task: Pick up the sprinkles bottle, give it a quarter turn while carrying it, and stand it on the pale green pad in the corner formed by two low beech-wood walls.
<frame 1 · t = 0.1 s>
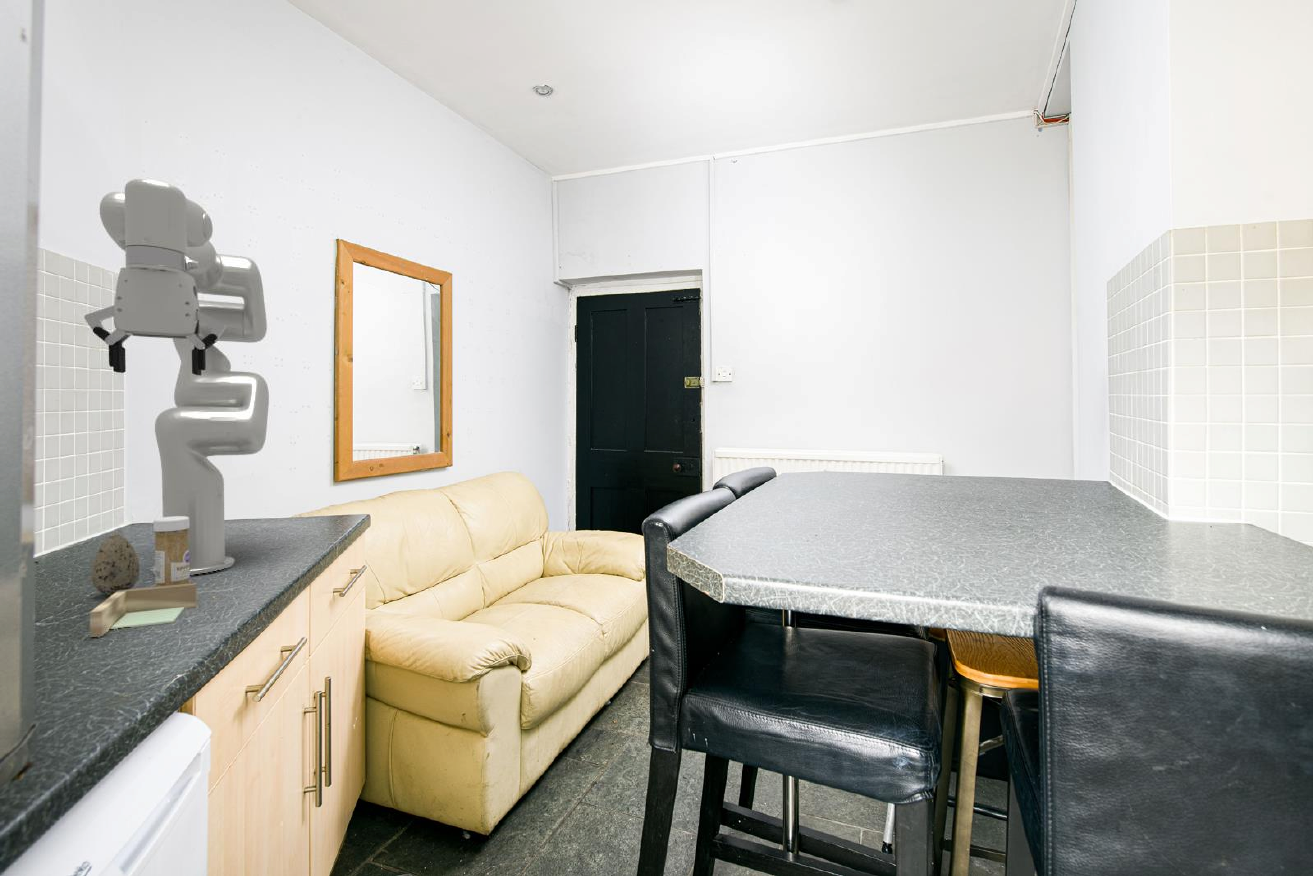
hand: (159, 373, 96), 37 cm above the countertop, tool pointing down, fingers open, 9 cm apart
sprinkles bottle: (173, 601, 98), on the countertop
decorative egg: (116, 596, 101), on the countertop
corner walls: (146, 620, 89), on the countertop
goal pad: (149, 618, 89), on the countertop
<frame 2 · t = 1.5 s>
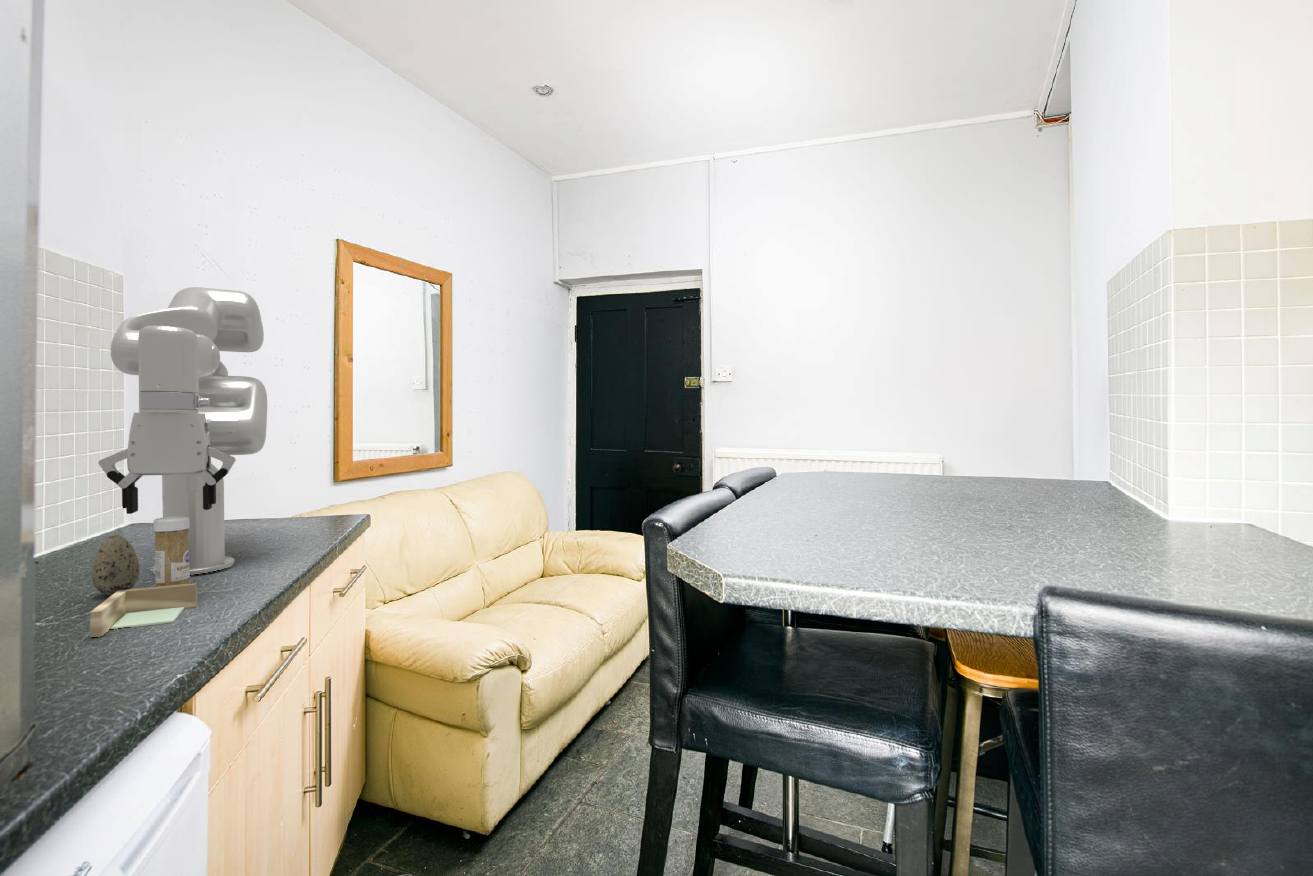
hand: (170, 510, 97), 15 cm above the countertop, tool pointing down, fingers open, 9 cm apart
nothing on the countertop moved.
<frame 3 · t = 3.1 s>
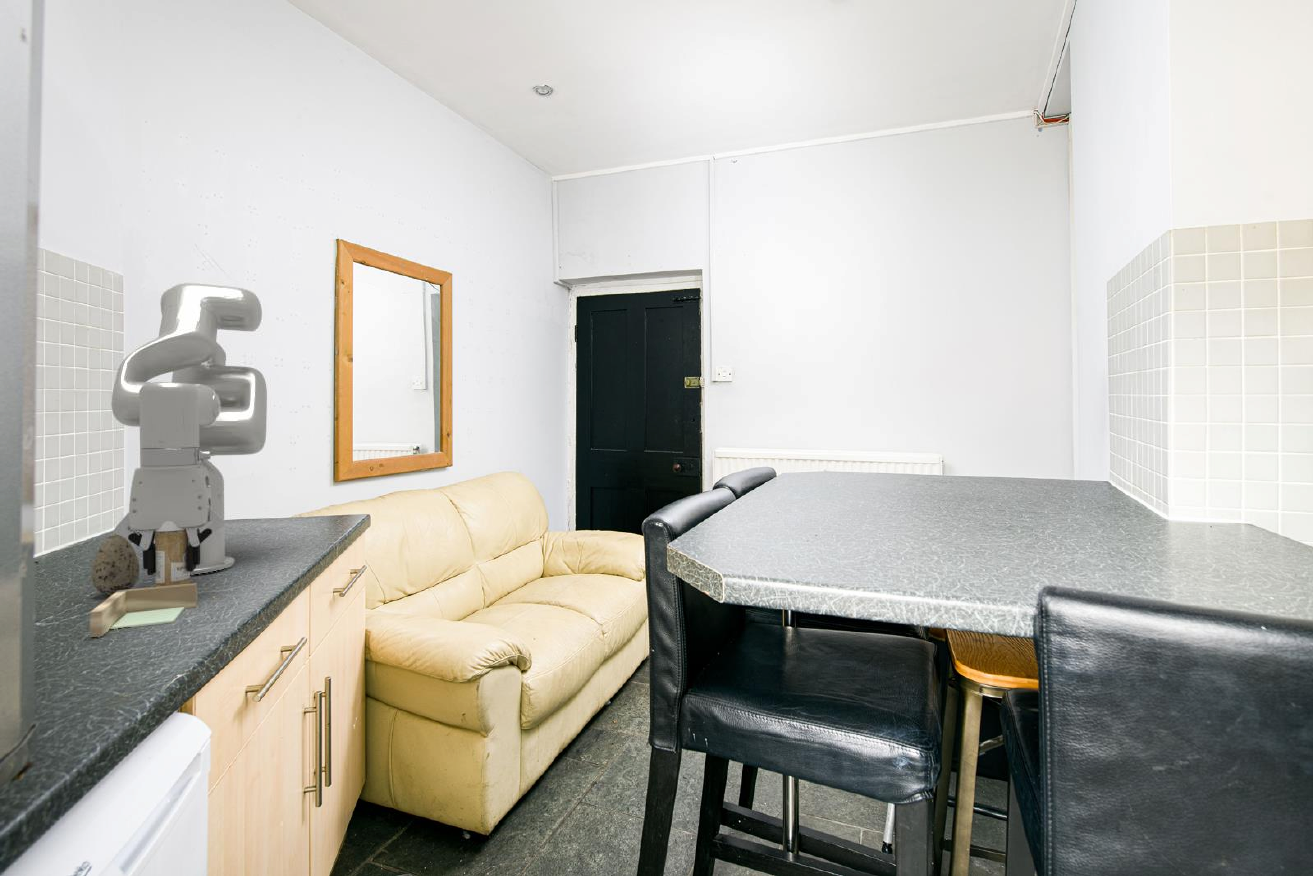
hand: (172, 570, 98), 5 cm above the countertop, tool pointing down, fingers closed on sprinkles bottle, 4 cm apart
sprinkles bottle: (173, 601, 98), on the countertop, touching gripper
everything else where it was.
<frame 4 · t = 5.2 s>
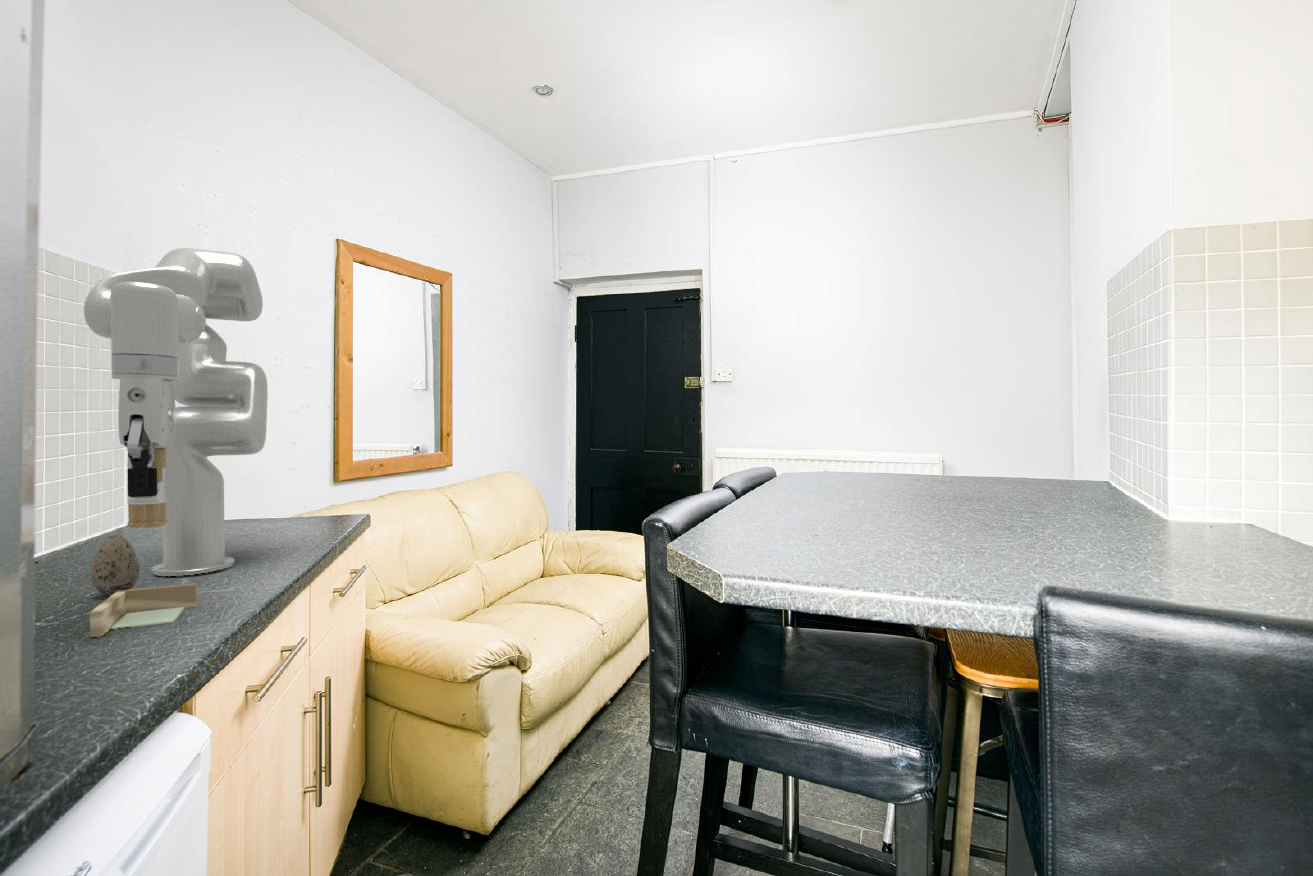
hand: (147, 493, 89), 19 cm above the countertop, tool pointing down, fingers closed on sprinkles bottle, 4 cm apart
sprinkles bottle: (148, 527, 89), point 14 cm above the countertop, touching gripper
everything else where it was.
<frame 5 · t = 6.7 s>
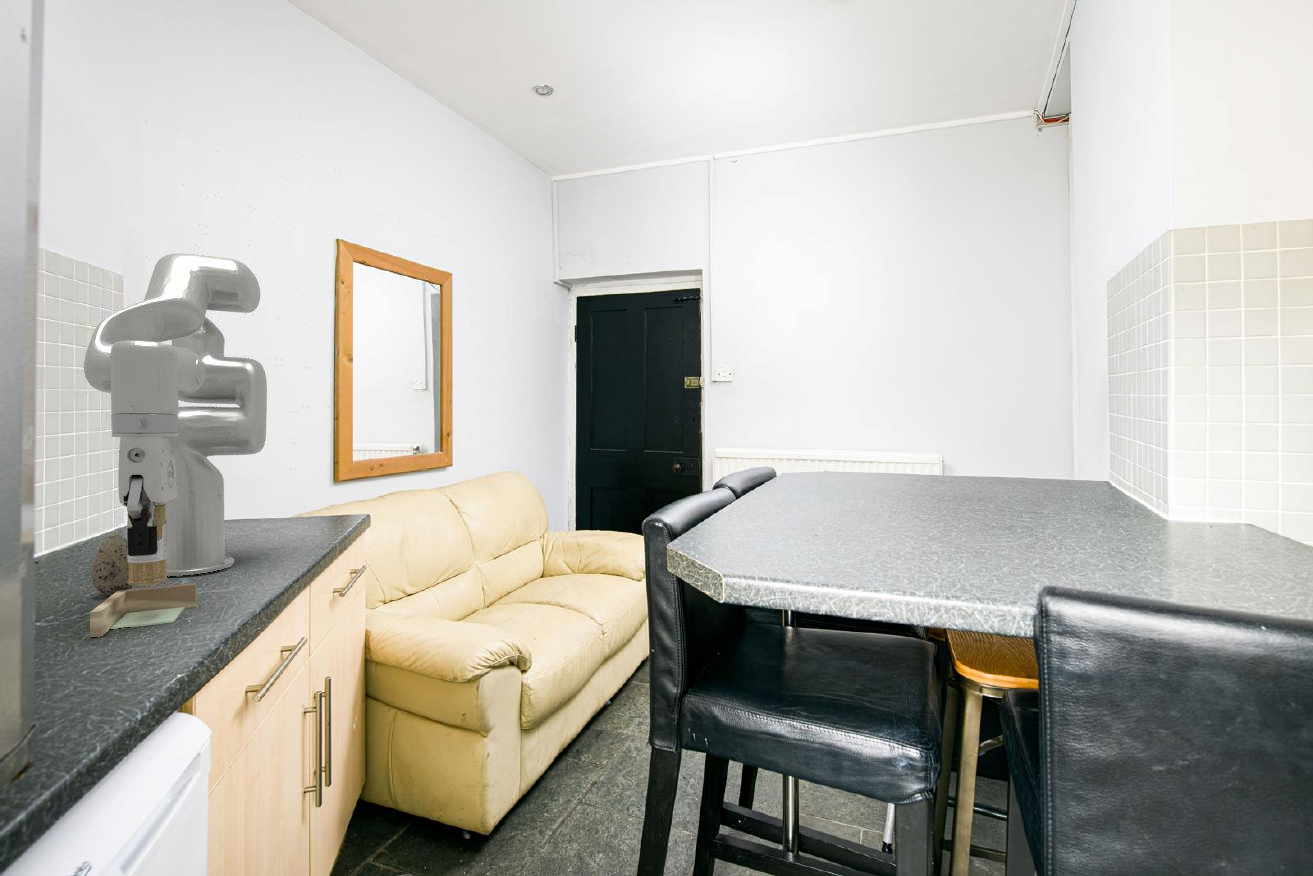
hand: (147, 550, 89), 10 cm above the countertop, tool pointing down, fingers closed on sprinkles bottle, 4 cm apart
sprinkles bottle: (148, 584, 89), point 5 cm above the countertop, touching gripper
everything else where it was.
when the fingers open (6 cm above the countertop, at t = 7.8 s): sprinkles bottle drops 1 cm, resting on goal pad.
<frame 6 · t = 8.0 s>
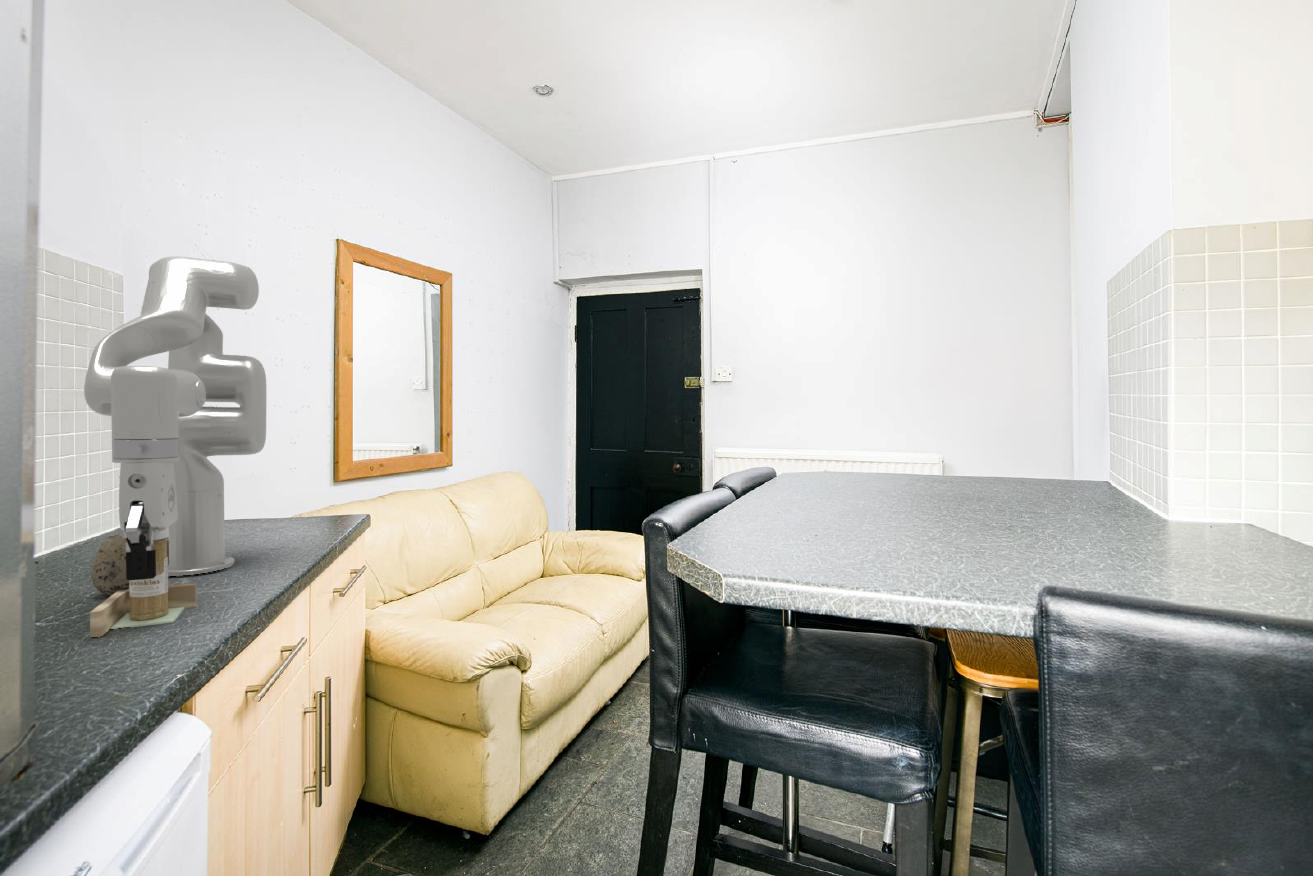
hand: (148, 572, 89), 7 cm above the countertop, tool pointing down, fingers open, 6 cm apart
sprinkles bottle: (149, 617, 89), resting on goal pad
everything else where it was.
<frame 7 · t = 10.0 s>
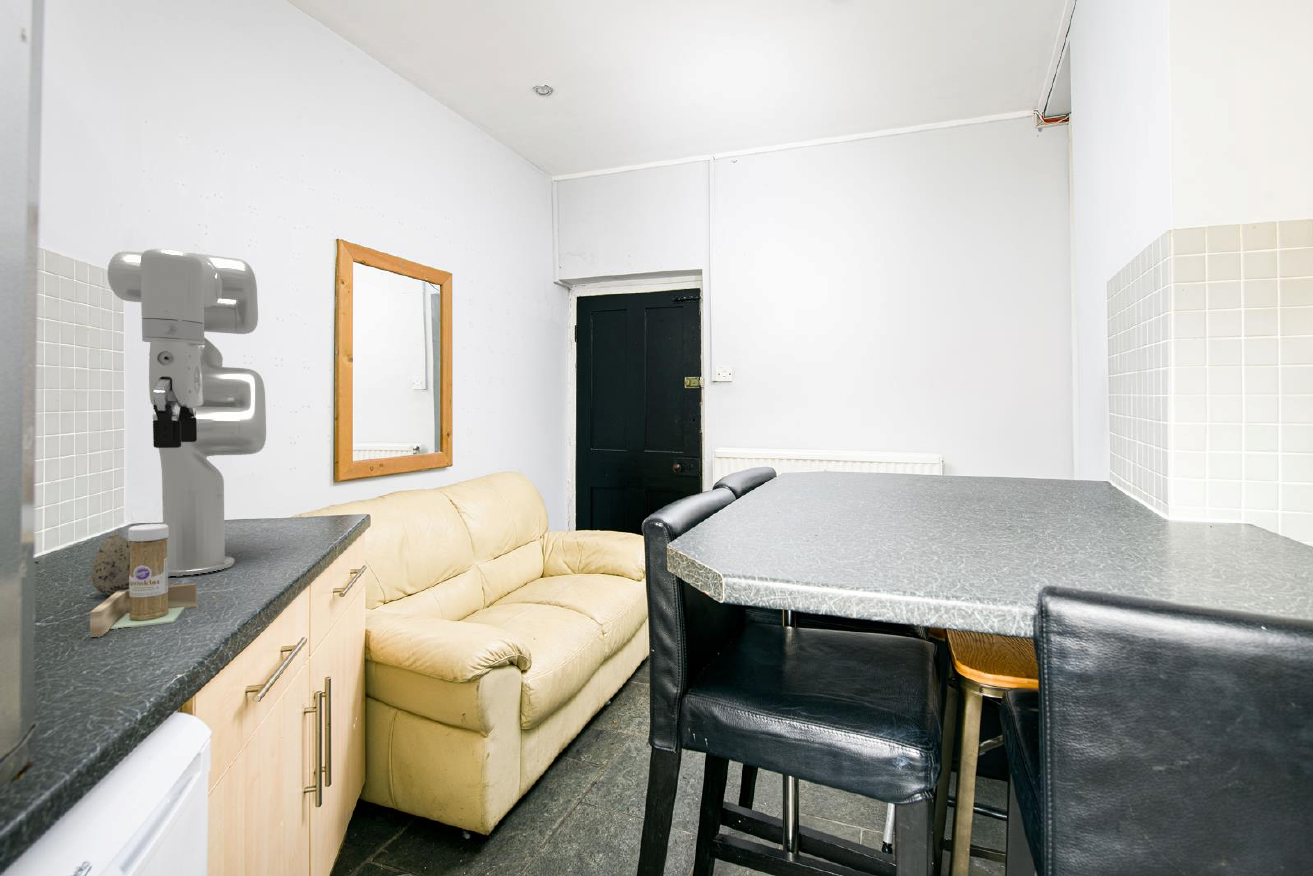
hand: (176, 444, 94), 25 cm above the countertop, tool pointing down, fingers open, 9 cm apart
nothing on the countertop moved.
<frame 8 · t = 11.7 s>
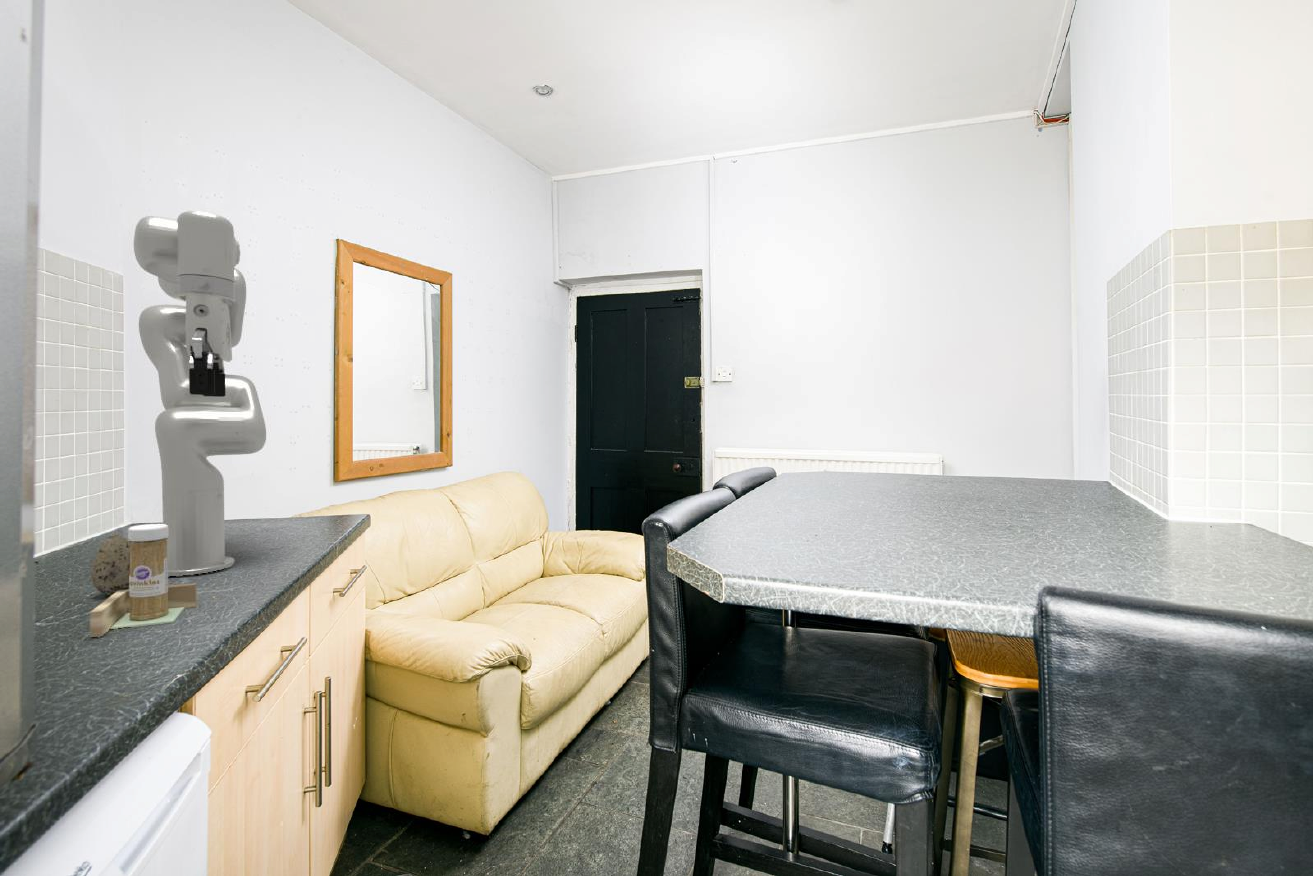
hand: (208, 395, 100), 33 cm above the countertop, tool pointing down, fingers open, 9 cm apart
nothing on the countertop moved.
at the end: sprinkles bottle inside the target area (0.3 cm from its centre), resting on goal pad; sprinkles bottle tilted 0°; the gripper is holding nothing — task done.
